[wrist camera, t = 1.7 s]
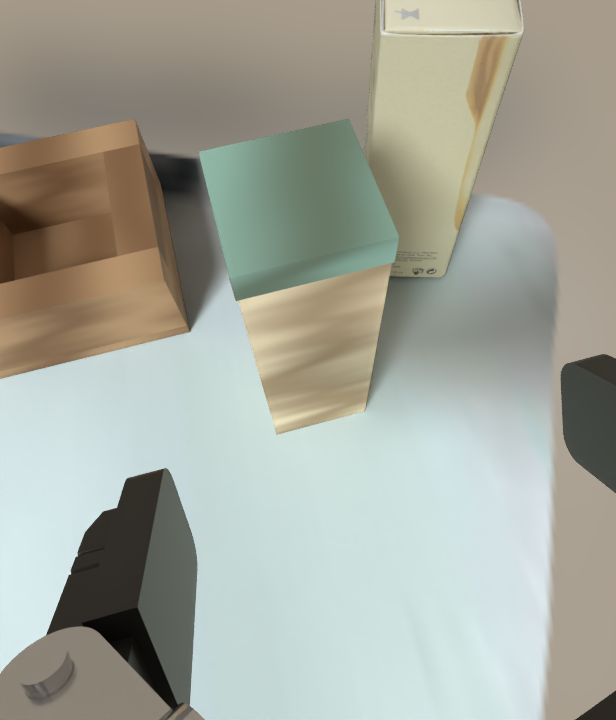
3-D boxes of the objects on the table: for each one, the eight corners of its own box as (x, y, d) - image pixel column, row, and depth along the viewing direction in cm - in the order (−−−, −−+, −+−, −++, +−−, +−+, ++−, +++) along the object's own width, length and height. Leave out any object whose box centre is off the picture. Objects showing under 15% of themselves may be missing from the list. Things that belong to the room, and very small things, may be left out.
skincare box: (446, 281, 26) (531, 40, 15) (357, 278, 27) (377, 39, 16) (441, 181, 29) (511, -85, 18) (360, 179, 29) (380, -85, 18)
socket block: (-13, 381, 25) (-78, 337, 21) (-14, 224, 29) (-69, 162, 25) (189, 331, 26) (164, 279, 22) (161, 185, 30) (134, 119, 26)
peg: (275, 435, 23) (229, 277, 12) (255, 353, 25) (198, 151, 14) (366, 411, 24) (399, 237, 13) (339, 332, 25) (348, 118, 14)
